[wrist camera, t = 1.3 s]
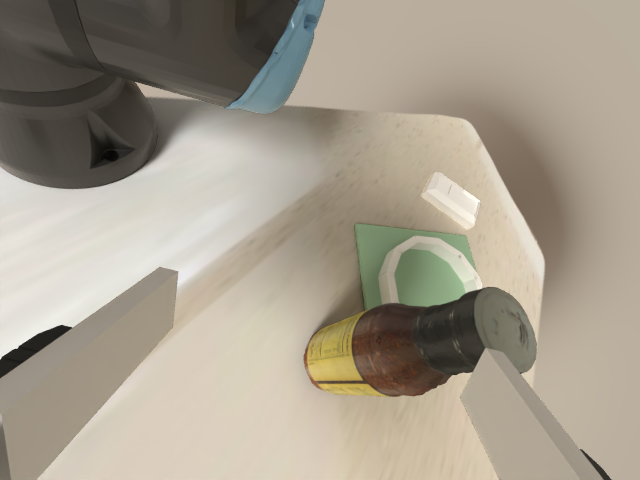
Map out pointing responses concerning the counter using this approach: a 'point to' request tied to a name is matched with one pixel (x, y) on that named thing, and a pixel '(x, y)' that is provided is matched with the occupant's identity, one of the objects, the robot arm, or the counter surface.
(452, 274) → the putting mat
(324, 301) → the counter surface
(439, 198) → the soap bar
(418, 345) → the sauce bottle
